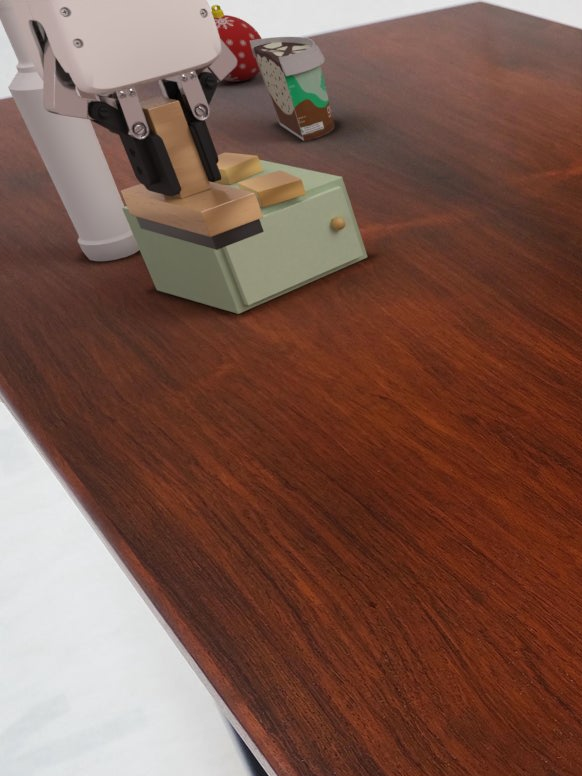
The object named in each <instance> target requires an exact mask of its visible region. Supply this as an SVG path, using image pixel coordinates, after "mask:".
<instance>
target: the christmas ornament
mask: <svg viewBox="0 0 582 776" xmlns="http://www.w3.org/2000/svg"><path fill="white" fill-rule="evenodd" d="M210 9H211V12H212V15H213V17H214V20H215V23H216V26H217V30H218V33H219V37H220V38H221V40H222V41H223V42H224V43H225V44H226V46H227V47H228V48H229V49H230V51H231V52H232V53H233V54H234V55H235V57H236V58H237V62H238V63H237V66H236V68H235V69H233V70H232V71H231V72H230V73H229V74H228V75H227V76H226V77H225V78H224V79H223V80H222V81H225V82H229V83H230V82H231V83H239V82H245V81H249V80H251V79H252V78H254V77H256V76H258V75H259V73H261V72H260V69H259V66H258V63H257V61H256V58H254V56H253V52H252V49H251V44H250V41H251V40H257V39H263V38H262V36H261V35H260V33H259V32H258V31H257V29H255V28H254V26H252V25H251V24H250V23H248V22H247V21H246V20H243V19H241V18H240V17H237V16H233V15H228V14H224V10H222V9H221V5H219V4H213V5H212V6H211V7H210Z"/></svg>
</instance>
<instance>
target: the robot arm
mask: <svg viewBox="0 0 582 776" xmlns="http://www.w3.org/2000/svg"><path fill="white" fill-rule="evenodd" d="M11 2H12V5H13V8H14V11H15V14H16V17H17V20H18V23H19V26H20V29H21V32H22V35H23V38H24V41H25V43H26V46H27V49H28V51H29V54H30V56H31V59H32V61H33V64H34V66H35V68H36V70H37V72H38V74H39V76H40V77H41V79H42V80H43V81H44V82H43V105H44V108H45V109H46V110H47V111H48V112H50V113H54V114H58V115H63V116H69V117H76V118H83V119H89V120H90V121H91V122H93V123H95V124H96V125H99V126H100V127H102V128H105V129H107V130H108V131H109V132H110V133H112V134H115V135H117V136H119V138H120V141H121V144H122V146H123V149H124V151H125V153H126V156H127V158H128V161H129V163H130V166H131V169H132V171H133V173H134V176H135V178H136V179H137V181H138V182H139V184H143V185H144V186H145V187H146V189H147V190H149V191H152V192H156V193H160V194H163V195H167V196H171V197H172V196H175V195H178V194H180V191H181V186H180V184H179V181H178V178H177V176H176V173H175V171H174V168H173V165H172V163H171V160H170V158H169V155H168V152H167V150H166V147H165V145H164V142H163V140H162V138H161V137H160V136H158V135H154V134H151V131H150V129H149V126H148V124H147V121H146V118H145V115H144V113H143V110H142V107H141V104H140V102H141V101H140V99H139V96H138V93H137V91H136V88H137V87H138V86H142V85H143V86H144V85H146V84H150V83H154V82H157V83H158V86H159V88H160V91H161V94H162V97H164V98H169V99H173V100H178V101H179V102H180V105H181V108H182V110H183V113H184V116H185V119H186V121H187V124H188V127H189V130H190V132H191V135H192V138H193V140H194V143H195V146H196V148H197V151H198V154H199V157H200V159H201V162H202V165H203V167H204V170H205V173H206V175H207V178H208V181H210V182H216V181H219V180H221V174H220V171H219V168H218V166H217V163H218V161H219V159H218V155H219V154H218V153H217V150H216V147H215V145H214V142H213V139H212V137H211V136H212V135H211V133H210V130H209V128H208V124H207V122H206V121H207V120H208V119H209V118H210V116H211V108H210V104H211V102H212V99H213V97H214V94H215V92H216V90H217V88H218V85H219V83H220V82H222V81H224V80H223V79H224V78H225V77H226V76H227V75H228V74H229V73H230V72H231V71H232V70H233V69H235V68H236V66H237V63H238V62H237V58H236V57H235V55H234V54H233V53H232V52H231V51H230V49H229V48H228V47H227V46H226V44H225V43H224V42H223V41H222V40H221V38H220V37H219V33H218V30H217V26H216V23H215V20H214V17H213V15H212V9H211V7H210V4H209V2H208V0H11ZM76 87H77V88H78V91H81V92H83V93H86V94H89V95H94V98H95V99H91V98H87V97H86V98H84V97H81V98H80V97H79V96H78V95H77V93H76ZM135 87H136V88H135Z"/></svg>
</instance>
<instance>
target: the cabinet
mask: <svg viewBox="0 0 582 776" xmlns="http://www.w3.org/2000/svg"><path fill="white" fill-rule="evenodd" d="M259 161H260V164H261V166H262V169H263V171H262V172H260V173H257V174H255V175H253V176H250V177H248V178H246V179H243V180H241V181H245V180H248V179H252V178H255V177H259V176H262V175H266V174H269V173H273V172H276V171H280V170H281V171H284V172H286V173H288V174H291V175H293V176H295V177H298V178H300V179H301V180H302V183H303V186H304V189H305V192H306V195H304V196H300V197H297V198H294V199H290V200H287V201H284V202H280V203H277V204H274V205H270V206H267V207H264V208H263V207H261V206H260V209H261V212H262V215H263V218H260V222H261V225H262V228H263V231H264V232H262V233H259V234H257V235H254V236H252V237H249V238H246V239H244V240H241V241H239V242H236V243H233V244H231V245H228V246H226V247H223V248H220V249H218V250H216V249H212V248H209V247H205V246H201V245H198V244H194V243H191V242H187V241H184V240H180V239H177V238H173V237H170V236H166V235H162V234H159V233H155V232H152V231H148V230H145V229H141V228H140V225H139V223H138V221H137V218H136V216H132V215H131V214H130V212H129V210H128V207H127V205H124V207H122V209H123V212H124V214H125V216H126V219H127V221H128V223H129V226H130V228H131V231H132V233H133V235H134V238H135V240H136V242H137V245H138V247H139V249H140V250H139V252H140V254H141V256H142V259H143V261H144V263H145V266H146V268H147V271H148V273H149V275H150V277H151V280H152V282H153V285H154V287H155V289H156V291H158V292H162V293H165V294H169V295H172V296H175V297H179V298H182V299H185V300H189V301H193V302H195V303H200V304H201V305H206V306H210V307H213V308H215V309H216V308H217V309H220V310H223V311H227V312H229V313H234V314H237V315H240V314H242V313H244V312H246V311H248V310H251V309H253V308H255V307H258V306H260V305H262V304H266V303H267V302H269V301H272V300H274V299H276V298H278V297H280V296H283V295H285V294H288V293H290V292H292V291H295V290H296V289H297V290H298V289H299V288H302V287H304V286H306V285H308V284H309V283H310V284H311V283H314V282H315V281H317V280H319V279H321V278H324V277H327V276H329V275H331V274H333V273H336V272H338V271H340V270H342V269H345V268H347V267H349V266H352V265H354V264H356V263H358V262H361V261H363V260H365V259H368V254H367V251H366V247H365V244H364V241H363V238H362V234H361V232H360V229H359V226H358V222H357V219H356V216H355V213H354V210H353V207H352V204H351V200H350V197H349V193H348V191H347V188H346V184H345V181H344V178H343V176H341V175H334V174H329V173H325V172H321V171H316V170H311V169H307V168H302V167H297V166H292V165H288V164H282V163H278V162H274V161H273V162H272V161H269V160H263V159H259ZM241 181H239V182H241ZM222 185H224V184H222ZM226 186H230V187H234V188H238V189H239V186H238V182H237V183H234V184H232V185H226Z"/></svg>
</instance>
